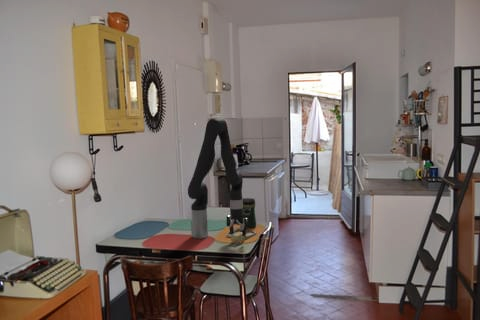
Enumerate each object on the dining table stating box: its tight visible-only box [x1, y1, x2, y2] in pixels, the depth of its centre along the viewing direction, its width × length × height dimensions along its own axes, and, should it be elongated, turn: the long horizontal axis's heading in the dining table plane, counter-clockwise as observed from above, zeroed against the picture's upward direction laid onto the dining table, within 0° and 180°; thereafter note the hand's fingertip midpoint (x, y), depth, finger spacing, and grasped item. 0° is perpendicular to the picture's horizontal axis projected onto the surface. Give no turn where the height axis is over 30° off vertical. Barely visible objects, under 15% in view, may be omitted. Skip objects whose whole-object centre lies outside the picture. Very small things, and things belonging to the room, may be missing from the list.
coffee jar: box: [241, 197, 257, 229], centre depth 260 cm, size 10×8×19 cm
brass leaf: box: [230, 232, 245, 245], centre depth 231 cm, size 4×7×5 cm, turn 144°
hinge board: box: [226, 228, 257, 240], centre depth 243 cm, size 13×13×4 cm
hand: (238, 234), depth 230 cm, fingers open, 8 cm apart
